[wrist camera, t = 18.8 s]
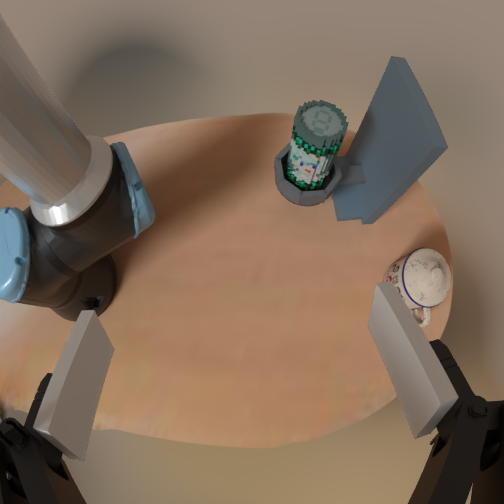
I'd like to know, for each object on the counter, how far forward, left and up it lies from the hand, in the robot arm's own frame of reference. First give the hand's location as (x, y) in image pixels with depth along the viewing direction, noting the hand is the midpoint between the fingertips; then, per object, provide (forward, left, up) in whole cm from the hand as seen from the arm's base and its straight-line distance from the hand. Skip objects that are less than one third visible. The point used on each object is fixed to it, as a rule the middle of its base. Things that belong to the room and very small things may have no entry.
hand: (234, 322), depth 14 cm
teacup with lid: (+27, +2, -36) cm, 45 cm away
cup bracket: (+15, +22, -36) cm, 44 cm away
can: (+11, +21, -30) cm, 38 cm away
